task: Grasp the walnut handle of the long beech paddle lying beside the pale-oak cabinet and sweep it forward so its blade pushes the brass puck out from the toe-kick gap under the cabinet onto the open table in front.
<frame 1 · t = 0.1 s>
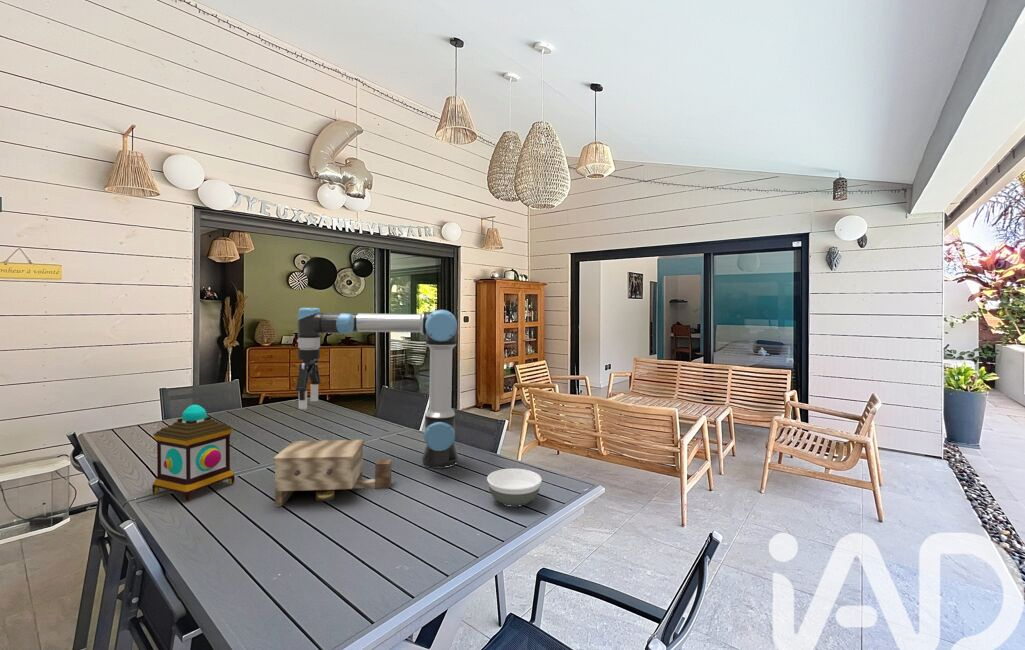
hand: (308, 404, 170), 28 cm above the table, fingers open, 13 cm apart
decorative lantern: (194, 489, 159), on the table
puck: (325, 497, 154), on the table
cabinet: (321, 493, 157), on the table
bowl: (513, 502, 153), on the table
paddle: (383, 485, 165), on the table
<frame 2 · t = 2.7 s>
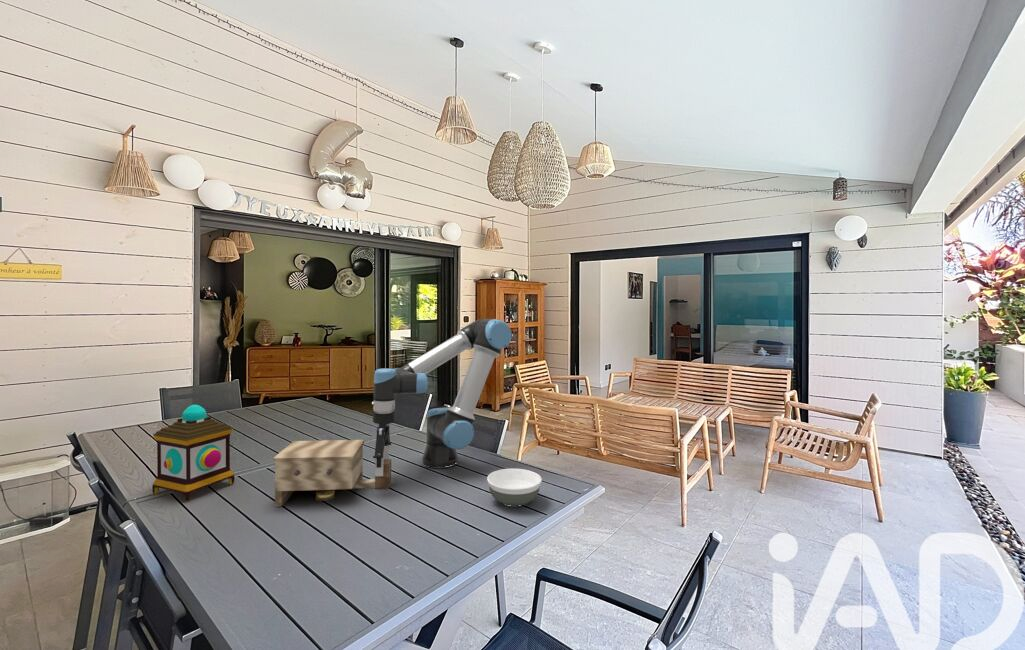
hand: (382, 469, 164), 6 cm above the table, fingers open, 13 cm apart
nothing on the table moved.
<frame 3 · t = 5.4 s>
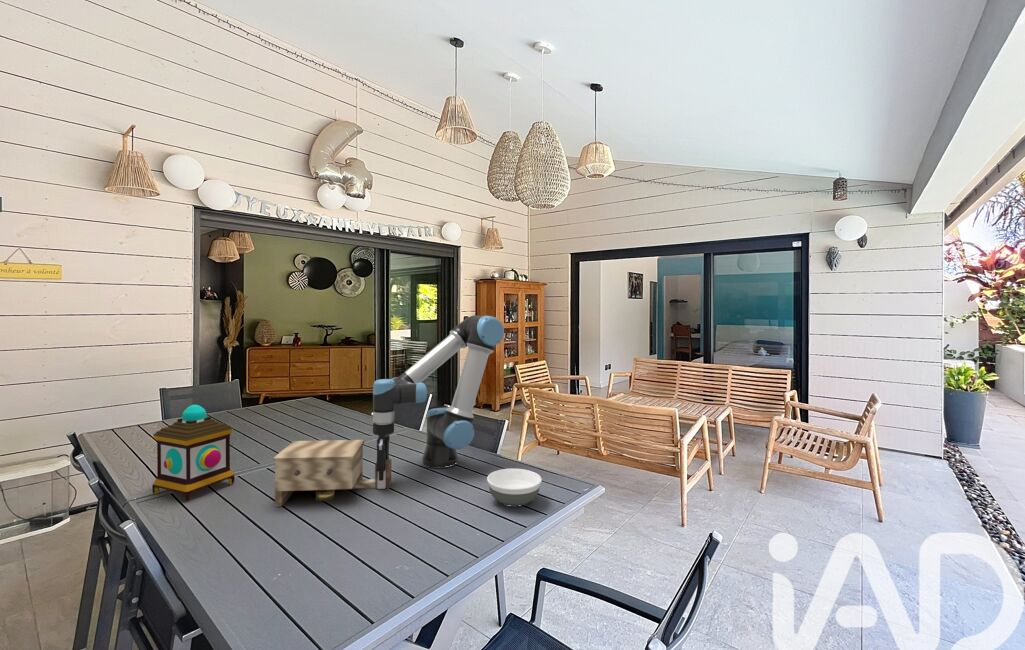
hand: (382, 485, 164), 0 cm above the table, fingers closed on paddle, 5 cm apart
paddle: (383, 485, 164), on the table, touching gripper
everything else where it was.
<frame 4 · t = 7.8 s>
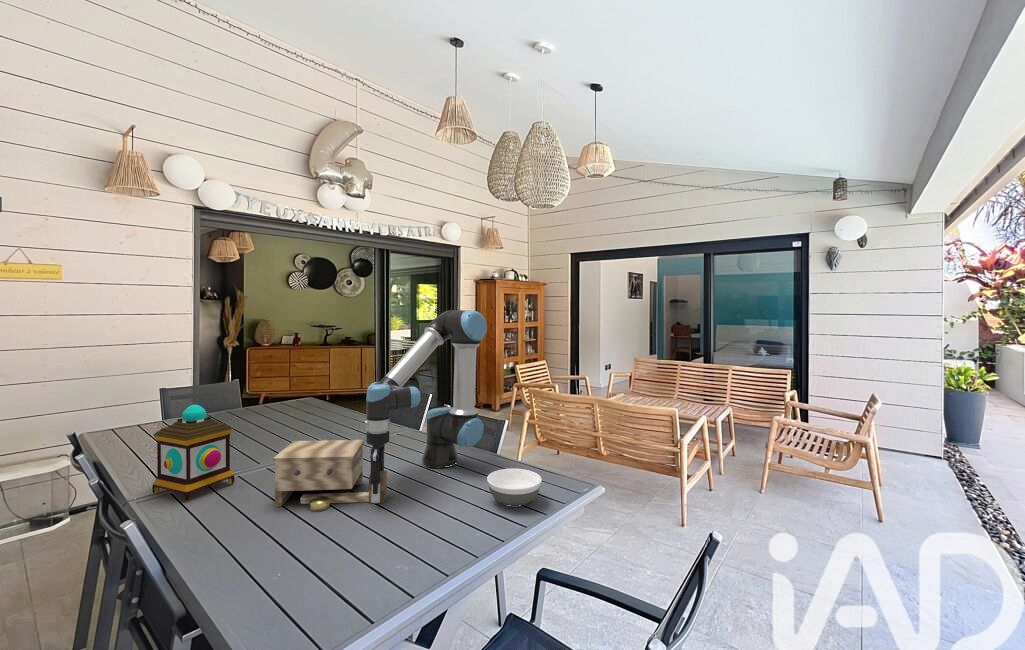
hand: (377, 498, 153), 0 cm above the table, fingers closed on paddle, 5 cm apart
puck: (319, 507, 146), on the table
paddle: (377, 499, 153), on the table, touching gripper
everything else where it was.
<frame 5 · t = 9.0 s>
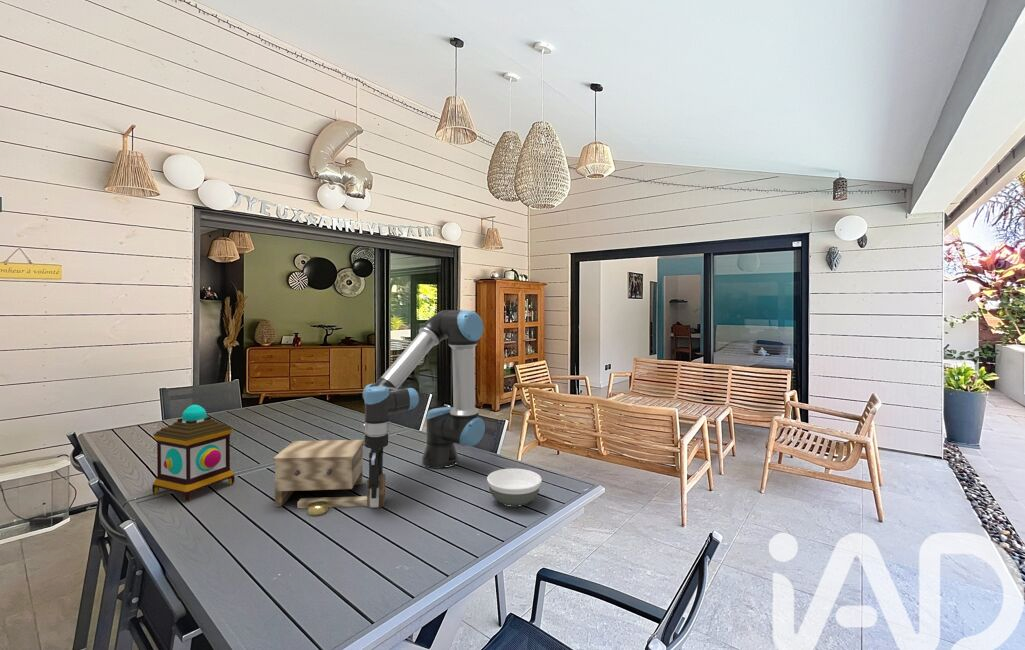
hand: (375, 502, 149), 0 cm above the table, fingers closed on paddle, 5 cm apart
puck: (317, 512, 143), on the table
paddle: (376, 503, 149), on the table, touching gripper
everything else where it was.
when the fingers open (0 cm above the table, at t = 10.5 s): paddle stays where it is, on the table.
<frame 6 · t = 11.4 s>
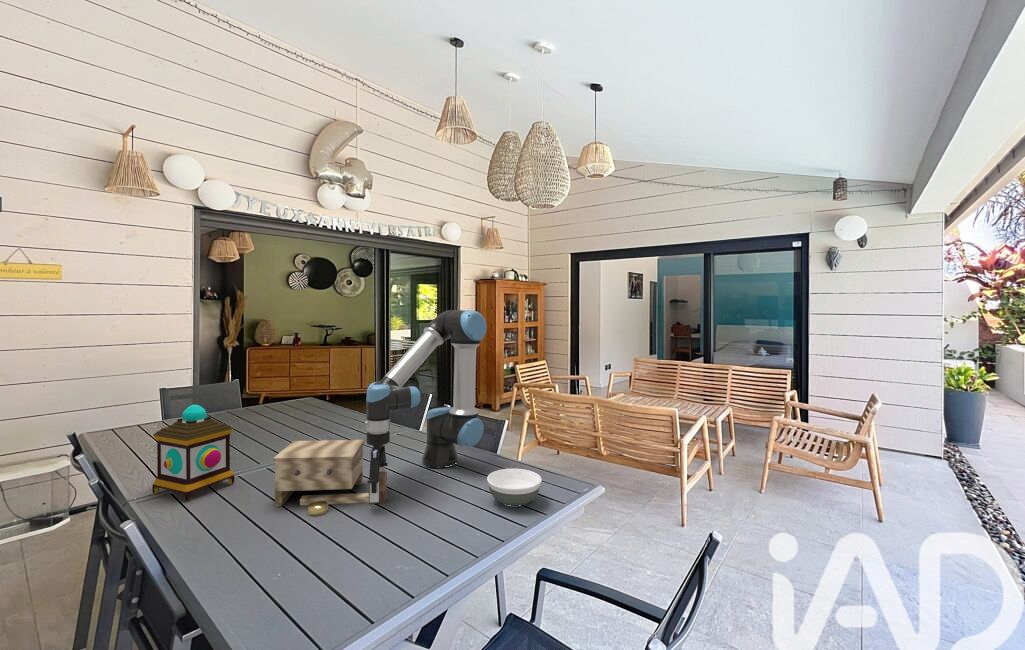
hand: (377, 493, 152), 2 cm above the table, fingers open, 13 cm apart
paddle: (377, 500, 152), on the table
everything else where it was.
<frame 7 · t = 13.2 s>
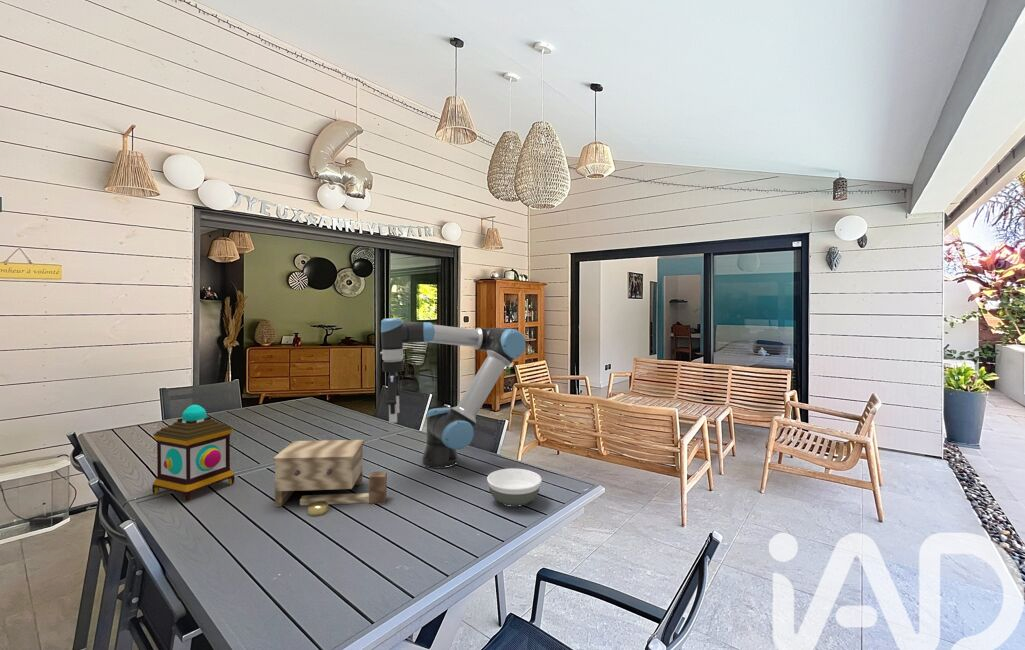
hand: (394, 417, 166), 25 cm above the table, fingers open, 13 cm apart
nothing on the table moved.
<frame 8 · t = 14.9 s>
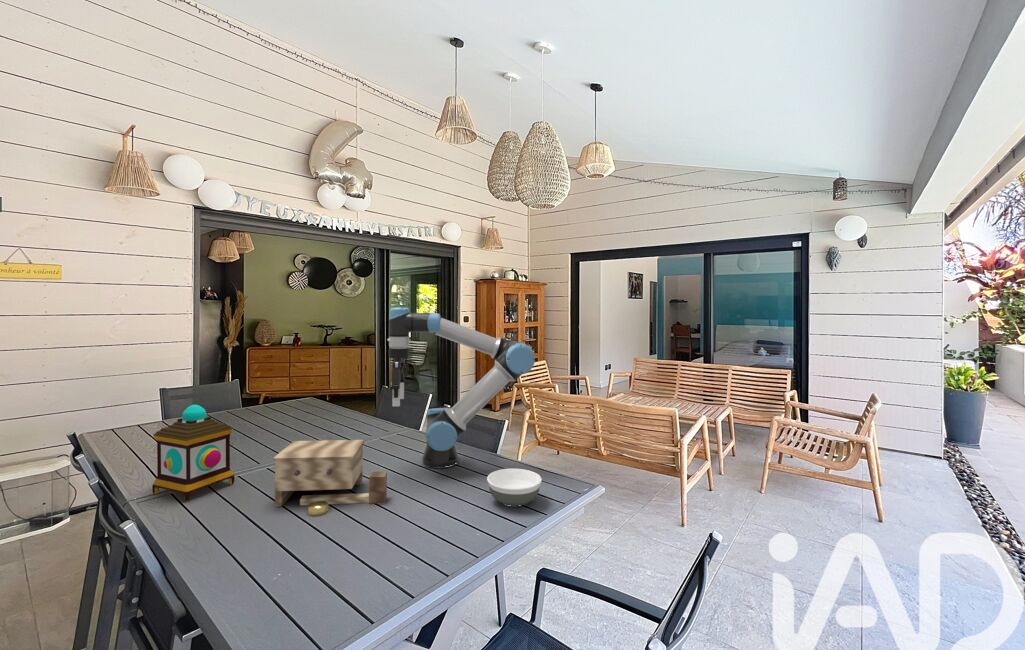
hand: (398, 402, 174), 29 cm above the table, fingers open, 13 cm apart
nothing on the table moved.
at the end: puck inside the target area (6.9 cm from its centre), on the table; puck moved 11.1 cm from its start; the gripper is holding nothing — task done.
